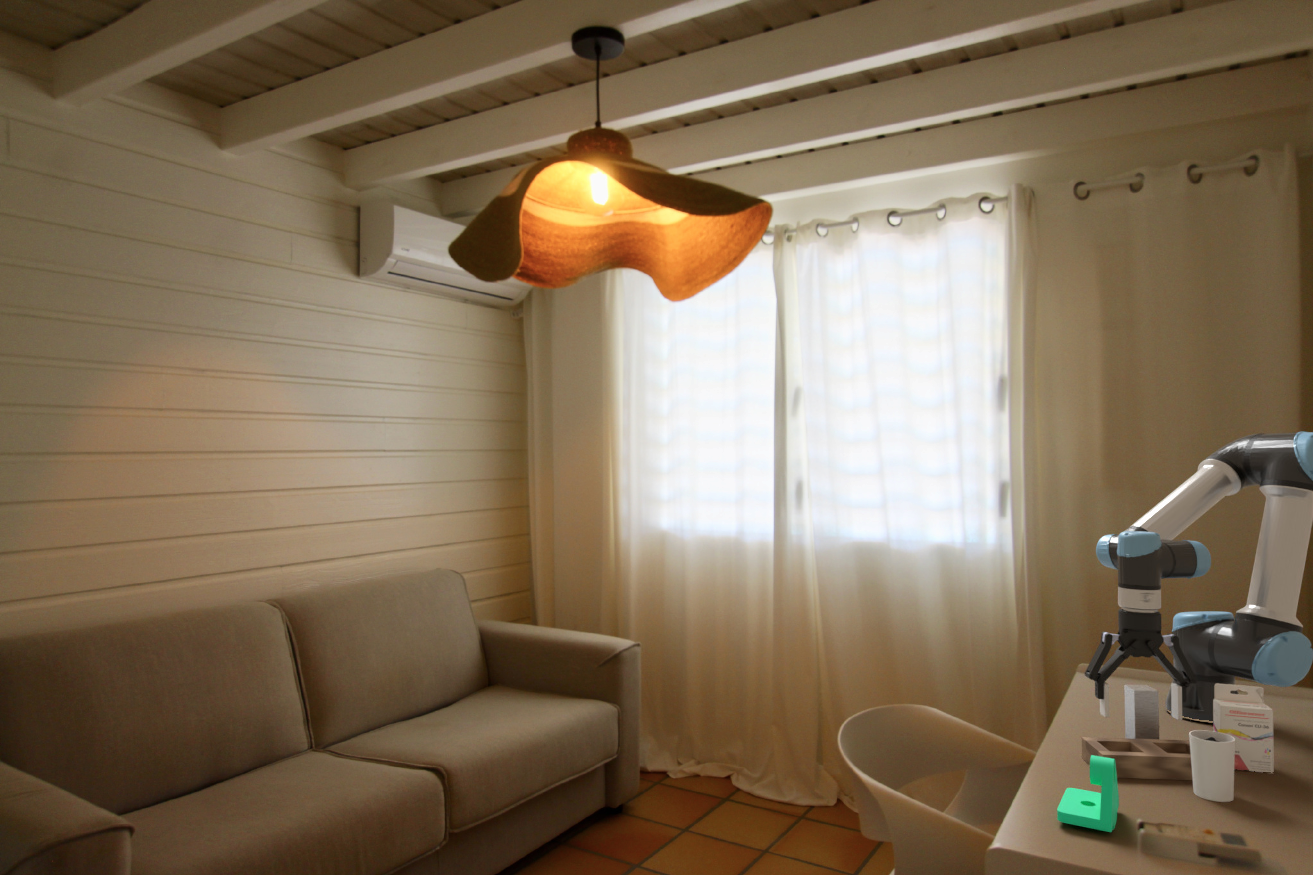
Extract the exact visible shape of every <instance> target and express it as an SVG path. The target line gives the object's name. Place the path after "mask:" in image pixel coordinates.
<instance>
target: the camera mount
mask: <svg viewBox="0 0 1313 875" xmlns="http://www.w3.org/2000/svg"><path fill="white" fill-rule="evenodd" d="M1089 781H1090V784H1091V785H1094V786H1101V787H1100V789H1101V790H1100V792H1097V791H1091V790H1085V789H1082V788H1081V789H1080V788H1075V787H1066V789H1065V791H1064V793H1063V795H1062V797H1061V800H1060V802H1059V804H1058V806H1057V808H1056V814H1057V815H1056V816H1057V817H1056V819H1057V821H1058V822H1060V823H1064V824H1069V825H1073V826H1079V827H1083V828H1087V829H1092V830H1093V829H1094V830H1097V831H1103V832H1109V833H1112V832H1113V830H1115V828H1116V824H1117V821H1118V810H1119V806H1120V796H1119V785H1118V778H1117V773H1116V763H1115V759H1112V758H1106V757H1100V756H1094V755H1091V758H1090V765H1089Z"/></svg>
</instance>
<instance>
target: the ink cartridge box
mask: <svg viewBox="0 0 1313 875" xmlns="http://www.w3.org/2000/svg"><path fill="white" fill-rule="evenodd" d="M1236 690H1238V691H1241V692H1245V693H1247V694H1240V693H1239V694H1231V693H1230V691H1236ZM1264 692H1265V688H1264V687H1262V686H1253V685H1243V684H1235V685H1232V684H1219V683H1216V684H1215V686H1214V699H1213V724H1212V725H1213V726H1212V729H1213V730H1212V731H1215V732H1220V733H1224V734H1227V735H1230V736H1232V737H1234V738H1235V758H1234V770H1236V769H1237V770H1238V771H1244V770H1249V771H1248V772H1254V771H1255V772H1256V773H1263V772H1271V773H1270V774H1273V773H1272V772H1274V770H1275V767H1274V766H1275V765H1274V764H1275V763H1274V762H1275V760H1274V758H1275V757H1274V755H1275V753H1274V750H1275V748H1274V746H1275V745H1274V711H1273V710H1274V709H1273V708H1271V707H1270V706H1269V705H1267V704H1266V703H1264V702H1265V701H1264V699H1265V698H1264V696H1265V693H1264ZM1237 770H1236V771H1237Z"/></svg>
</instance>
